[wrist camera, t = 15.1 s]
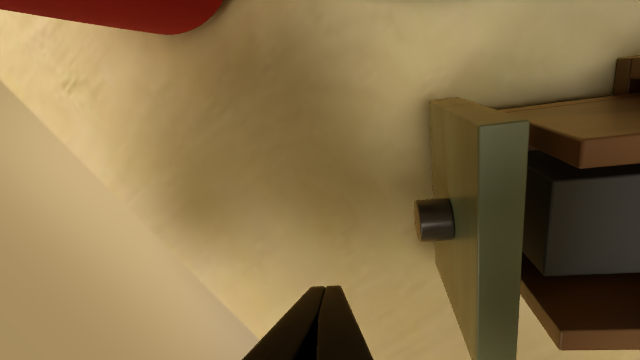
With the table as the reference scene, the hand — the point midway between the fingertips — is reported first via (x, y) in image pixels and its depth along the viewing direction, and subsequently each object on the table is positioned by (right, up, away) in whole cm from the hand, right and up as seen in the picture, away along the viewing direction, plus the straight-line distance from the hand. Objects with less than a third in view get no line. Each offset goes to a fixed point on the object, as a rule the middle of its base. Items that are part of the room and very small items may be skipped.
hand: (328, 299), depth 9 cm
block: (+9, +3, +4) cm, 11 cm away
